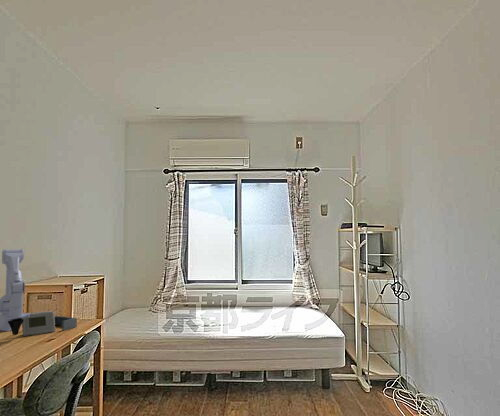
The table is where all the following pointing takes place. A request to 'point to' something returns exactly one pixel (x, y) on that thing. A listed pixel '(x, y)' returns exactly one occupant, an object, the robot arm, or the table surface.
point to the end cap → (66, 322)
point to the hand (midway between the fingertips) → (15, 334)
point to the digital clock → (38, 323)
